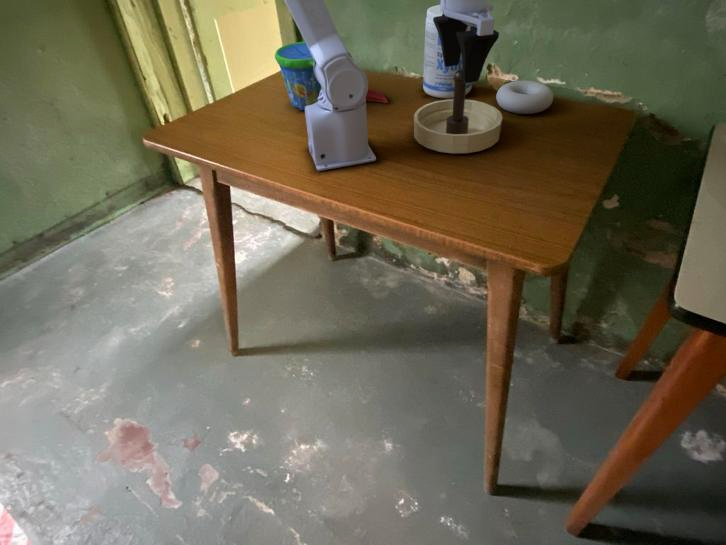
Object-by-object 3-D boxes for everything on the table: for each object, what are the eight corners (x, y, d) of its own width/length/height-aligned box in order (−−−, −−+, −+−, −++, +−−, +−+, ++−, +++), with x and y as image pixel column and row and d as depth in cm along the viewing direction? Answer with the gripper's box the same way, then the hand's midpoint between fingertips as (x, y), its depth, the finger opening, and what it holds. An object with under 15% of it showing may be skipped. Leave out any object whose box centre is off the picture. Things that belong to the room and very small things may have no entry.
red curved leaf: (331, 95, 99) (330, 86, 98) (346, 88, 101) (345, 79, 100) (377, 109, 93) (376, 99, 91) (392, 100, 95) (392, 91, 94)
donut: (495, 117, 87) (554, 117, 85) (497, 98, 85) (557, 98, 83) (495, 95, 95) (549, 95, 93) (496, 77, 92) (552, 77, 90)
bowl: (431, 162, 76) (431, 141, 74) (402, 125, 87) (402, 106, 84) (515, 147, 78) (518, 126, 76) (477, 113, 89) (479, 94, 86)
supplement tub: (437, 104, 93) (441, 19, 83) (414, 87, 100) (415, 7, 90) (481, 94, 95) (490, 10, 86) (456, 78, 102) (461, 0, 92)
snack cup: (352, 111, 92) (347, 55, 86) (300, 124, 89) (291, 67, 83) (319, 86, 103) (314, 34, 97) (272, 97, 100) (263, 44, 93)
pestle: (450, 139, 80) (455, 75, 74) (442, 130, 83) (446, 67, 76) (471, 136, 81) (477, 72, 74) (462, 127, 84) (467, 64, 77)
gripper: (521, -23, 62) (506, 85, 71) (473, -40, 73) (466, 55, 82) (469, -16, 61) (460, 92, 70) (428, -35, 72) (426, 61, 80)
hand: (460, 73), depth 76 cm, fingers open, 7 cm apart
